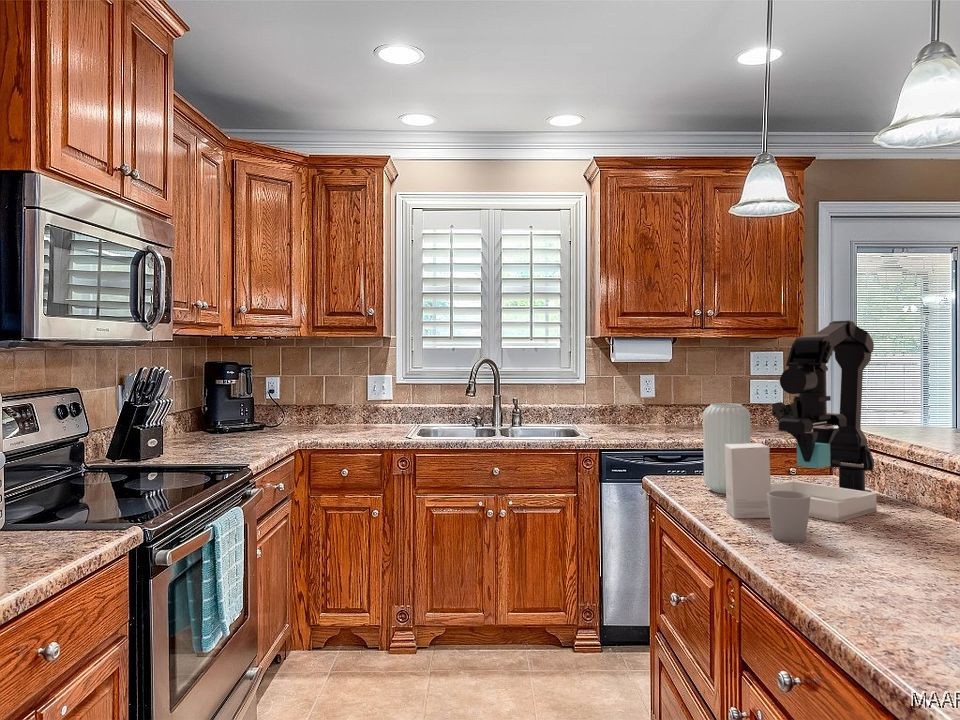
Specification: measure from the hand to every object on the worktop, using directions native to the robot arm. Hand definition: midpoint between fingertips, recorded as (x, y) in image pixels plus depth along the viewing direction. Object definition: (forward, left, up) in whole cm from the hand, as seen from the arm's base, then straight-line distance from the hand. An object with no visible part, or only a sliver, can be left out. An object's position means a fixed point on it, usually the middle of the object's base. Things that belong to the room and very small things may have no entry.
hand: (813, 460), depth 155 cm
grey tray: (0, 0, -11) cm, 11 cm away
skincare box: (+17, -5, -11) cm, 21 cm away
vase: (-2, -24, -11) cm, 27 cm away
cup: (+26, +10, -11) cm, 30 cm away
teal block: (0, 0, -1) cm, 1 cm away
